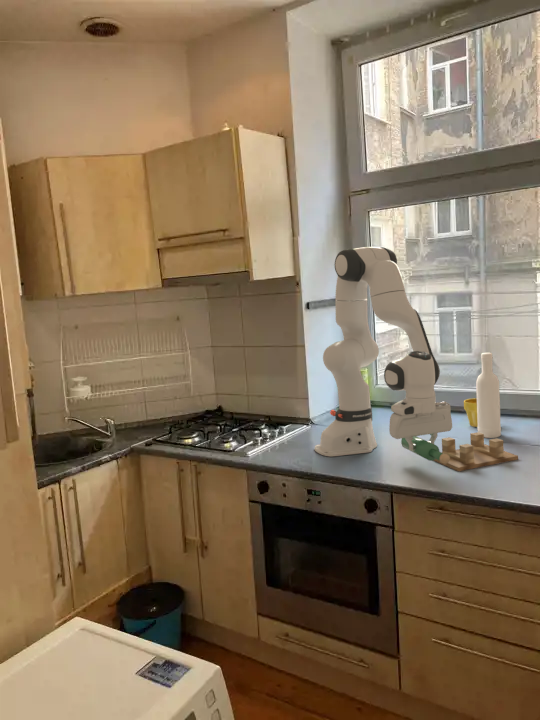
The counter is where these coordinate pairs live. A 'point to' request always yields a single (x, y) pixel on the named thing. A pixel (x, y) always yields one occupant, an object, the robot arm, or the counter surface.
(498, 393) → the bottle
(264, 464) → the counter surface
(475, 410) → the plant pot
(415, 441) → the bottle
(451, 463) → the bottle rest
